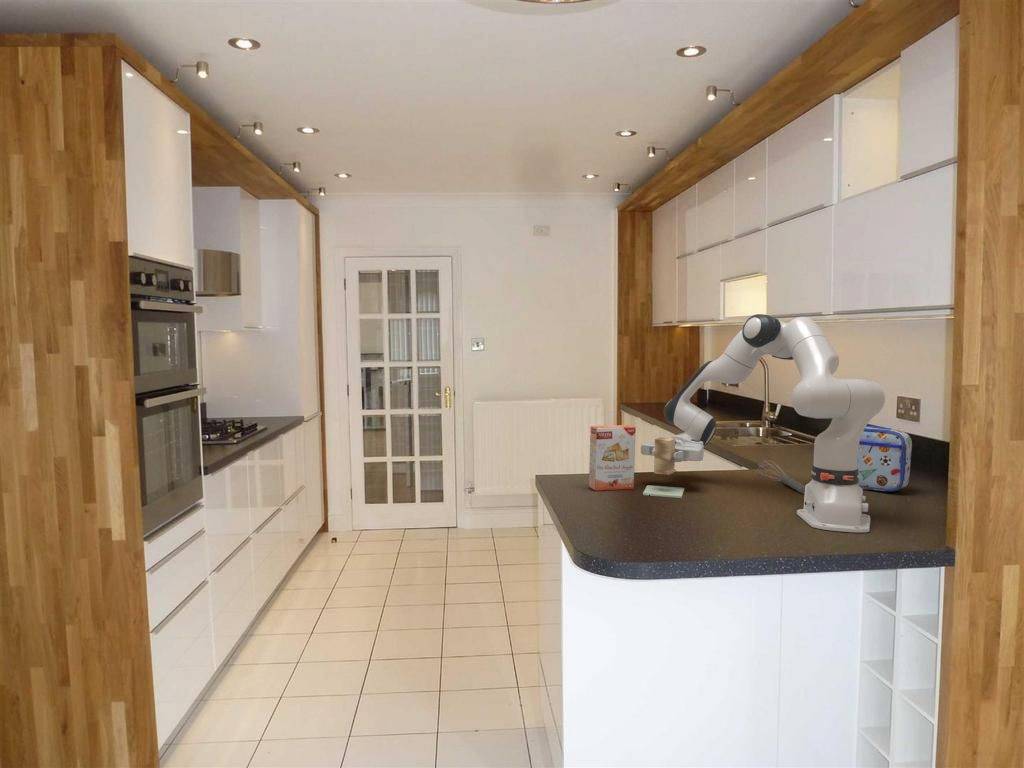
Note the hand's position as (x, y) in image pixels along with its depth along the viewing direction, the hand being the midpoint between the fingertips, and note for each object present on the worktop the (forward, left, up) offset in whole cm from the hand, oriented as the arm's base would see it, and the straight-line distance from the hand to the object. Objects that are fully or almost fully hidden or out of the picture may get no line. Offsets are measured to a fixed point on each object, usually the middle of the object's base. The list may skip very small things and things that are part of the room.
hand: (663, 454), depth 219 cm
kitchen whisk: (+27, -39, -13) cm, 49 cm away
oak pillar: (+1, 0, -6) cm, 6 cm away
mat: (+1, 0, -12) cm, 12 cm away
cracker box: (+1, +17, -13) cm, 21 cm away
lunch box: (+31, -63, -13) cm, 71 cm away
